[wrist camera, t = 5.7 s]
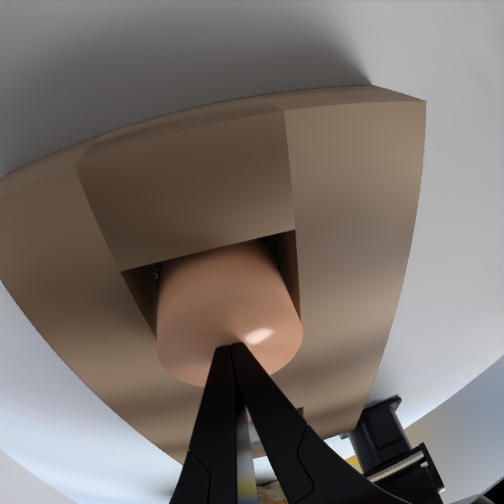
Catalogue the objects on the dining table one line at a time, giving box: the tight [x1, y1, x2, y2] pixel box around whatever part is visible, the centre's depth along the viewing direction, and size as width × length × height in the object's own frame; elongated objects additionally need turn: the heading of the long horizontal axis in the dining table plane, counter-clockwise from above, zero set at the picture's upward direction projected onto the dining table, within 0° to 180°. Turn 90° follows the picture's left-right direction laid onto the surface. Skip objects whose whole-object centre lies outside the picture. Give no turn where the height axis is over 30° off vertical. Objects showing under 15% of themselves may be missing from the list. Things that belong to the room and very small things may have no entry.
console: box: [0, 85, 426, 465], centre depth 15 cm, size 24×14×3 cm, turn 8°
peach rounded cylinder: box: [157, 239, 303, 387], centre depth 10 cm, size 4×4×3 cm
